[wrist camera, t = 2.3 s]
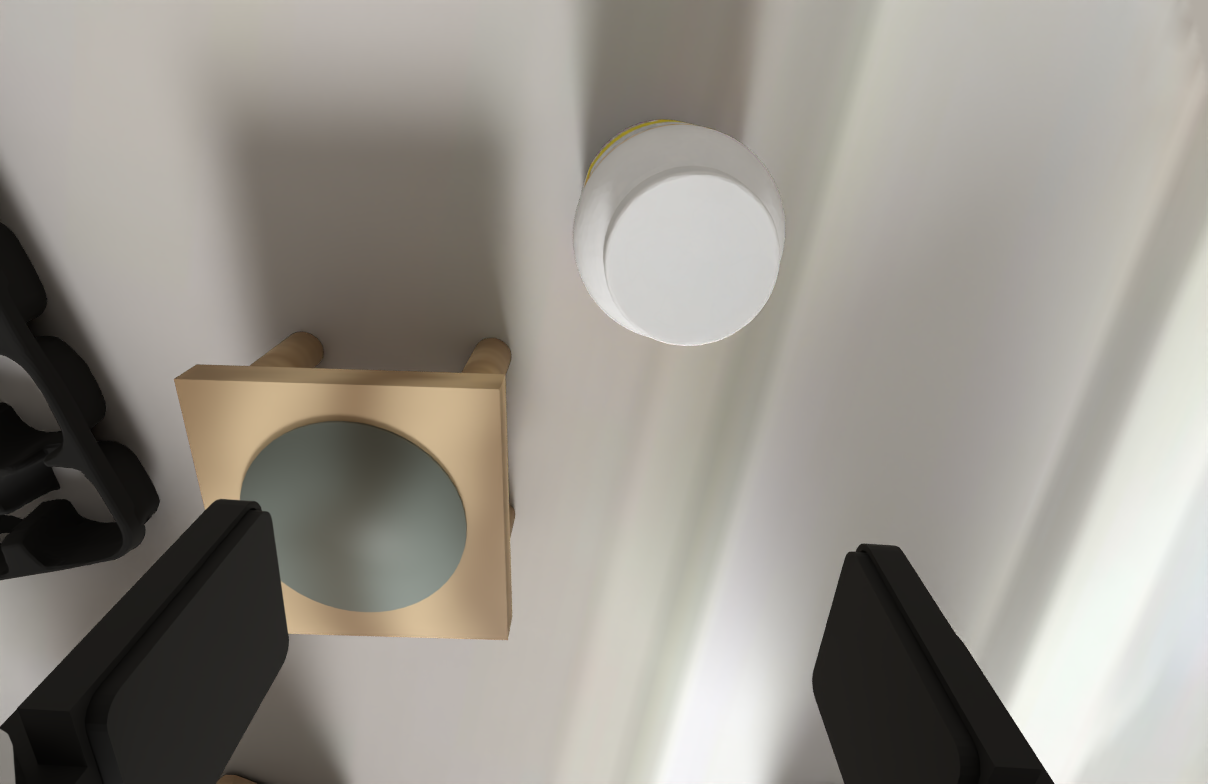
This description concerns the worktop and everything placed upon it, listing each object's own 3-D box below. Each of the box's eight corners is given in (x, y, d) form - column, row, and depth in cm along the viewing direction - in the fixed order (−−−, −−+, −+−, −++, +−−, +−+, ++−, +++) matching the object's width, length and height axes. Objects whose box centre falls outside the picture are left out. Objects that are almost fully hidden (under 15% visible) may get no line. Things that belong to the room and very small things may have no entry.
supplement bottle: (704, 292, 31) (762, 409, 19) (565, 252, 31) (538, 348, 19) (757, 143, 29) (860, 174, 17) (606, 96, 28) (605, 95, 16)
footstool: (523, 326, 32) (498, 391, 25) (526, 538, 37) (507, 643, 30) (267, 318, 32) (170, 381, 25) (304, 531, 37) (231, 635, 30)
